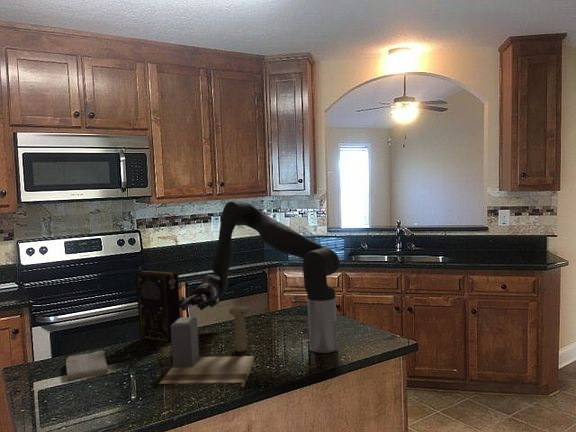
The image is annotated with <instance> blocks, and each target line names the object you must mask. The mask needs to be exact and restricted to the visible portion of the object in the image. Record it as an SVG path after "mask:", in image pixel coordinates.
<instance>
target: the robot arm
mask: <svg viewBox="0 0 576 432" xmlns="http://www.w3.org/2000/svg"><path fill="white" fill-rule="evenodd" d="M236 226H237V227H238V226H246V227H249V228H251V229H253V230H255V231H256V232H257V233H258V234H259V237H260V239H261V241H263V242H264V243H265V244H266V245H267V246H269V247H270V248H271V249H273V250H274V251H277V252H279V253H282V254H285V255H288V256H289V255H290V256H293V257H297V258H300V259H303V260H302V275H303V282H304V283H303V284H304V290H305V292H306V295H307V318H308V319H307V320H308V338H309V339H308V342H309V351H311V352H314V353H318V354H319V353H320V354H326V353H333V352H338V347H339V346H338V325H337V306H336V290H335V288H334V287H332V286H329V285H328V281H327V277H328V276H331V275H333V274H335V273H337V271H338V270H339V268H340V265H341V262H340V258H339V256H338V255H337V253H336V252H335V251H334V250H332V249H331V248H329V247H326V246H324V245H322V244H320V243H318V242H315V241H313V240H311V239H309V238H307V237H305V236H304V235H302V234H300V233H299V232H297V231H295V230H294V229H292V228H291V227H288V226H287V225H285V224H284V223H282V222H280V221H278V220H276V219H274V218H272V217H271V216H269V215H266V214H265V213H264V212H262V211H261V210H260V209H258V208H257V207H256V206H254V205H253V204H251V203H250V202H248V201H244V200H243V201H242V200H240V201H239V200H231V201H228V202H227V203H226V204H224V207H223V209H222V214H221V219H220V225H219V232H218V233H219V234H218V240H217V246H216V251H215V253H214V256H213V259H212V263H211V267H210V269H211V271H212V272H214V274H216V275H214V274H210V273H208V274H206V275H204V276H203V277H202V279H201V284H200V285H199V286H197V287H196V288H195V289H194V290H193V291H192V293H191V295H190V296H188V297H187V298H186V297H184V296H179V307H180V310H182V311H184V312H185V311H186V310H187V309H188V308H194V307H196V308H198V309H199V310H200V311H204V310H205V309H206V308H209V307H210V308H213V307H215V306H216V305H218V304H219V303H220V299H219V298H220V297H223V296H224V295H226V293H227V291H228V288H229V271H230V267H231V265H232V262H233V260H234V259H233V258H234V246H233V240H232V237H233V233H234V230H235V227H236ZM217 275H218V276H217Z"/></svg>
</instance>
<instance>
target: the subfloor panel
mask: <svg viewBox="0 0 576 432" xmlns="http://www.w3.org/2000/svg"><path fill="white" fill-rule="evenodd" d="M254 361H255V356H254V355H246V356H245V355H244V356H243V355H242V356H241V355H239V356H237V355H236V356H232V355H231V356H199V359H198V360H197V362H196V363H195V365H194V366H193V367H182V368H173V366H172V367H171V368H170V369H169V370H168V371H167V373H166V374H165V375H164V377H162V379H161V380H160V382H159V383H158V384H161V385H162V384H164V385H165V384H172V385H173V384H222V383H224V384H226V383H227V384H228V383H229V384H232V383H233V384H235V383H238V384H239V383H241V384H240V387H245V386H246V385H245V384H246V382H247V380H248V378H249V374H250V372H251V370H252V366H253V364H254Z"/></svg>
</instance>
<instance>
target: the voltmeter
mask: <svg viewBox="0 0 576 432" xmlns="http://www.w3.org/2000/svg"><path fill="white" fill-rule="evenodd" d="M135 282H136V285H135V286H136V296H137V313H138V325H139V338H140V339H142V340H146V339H147V341H153V342H158V343H172V339H171V325H172V324H173V323H174V322H175V321H176V320H177V319H178V318H181V308H180V307H179V299H180V293H179V292H180V291H179V273H178V272H174V271H173V272H171V271H161V270H160V271H159V270H142V271H140V272H136V273H135Z"/></svg>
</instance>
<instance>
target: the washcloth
mask: <svg viewBox="0 0 576 432" xmlns="http://www.w3.org/2000/svg"><path fill="white" fill-rule="evenodd" d="M65 365H66V366H65V367H66V373H67V378H66V379H67V381H73V380H79V379H82V378H89V377H93V376H98V375H105V374H108V373H109V367H108V363H107V358H106V353H105V351H104V350H97V351H94V352H90V353H79V354H74V355H69V356H68V357H67V358H66V360H65ZM88 376H89V377H88Z"/></svg>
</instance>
